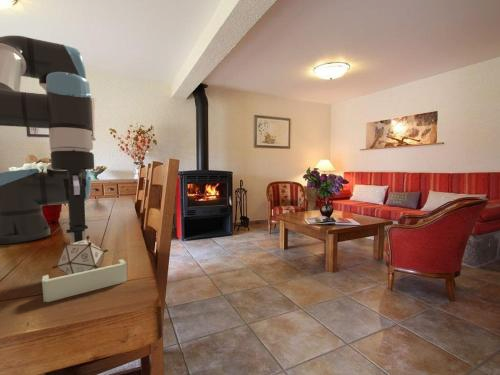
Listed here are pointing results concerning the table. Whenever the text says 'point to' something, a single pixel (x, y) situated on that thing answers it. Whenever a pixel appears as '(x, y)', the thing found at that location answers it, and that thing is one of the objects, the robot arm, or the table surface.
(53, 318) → the table surface
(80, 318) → the table surface
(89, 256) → the game die
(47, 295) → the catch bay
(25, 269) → the table surface
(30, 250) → the table surface
